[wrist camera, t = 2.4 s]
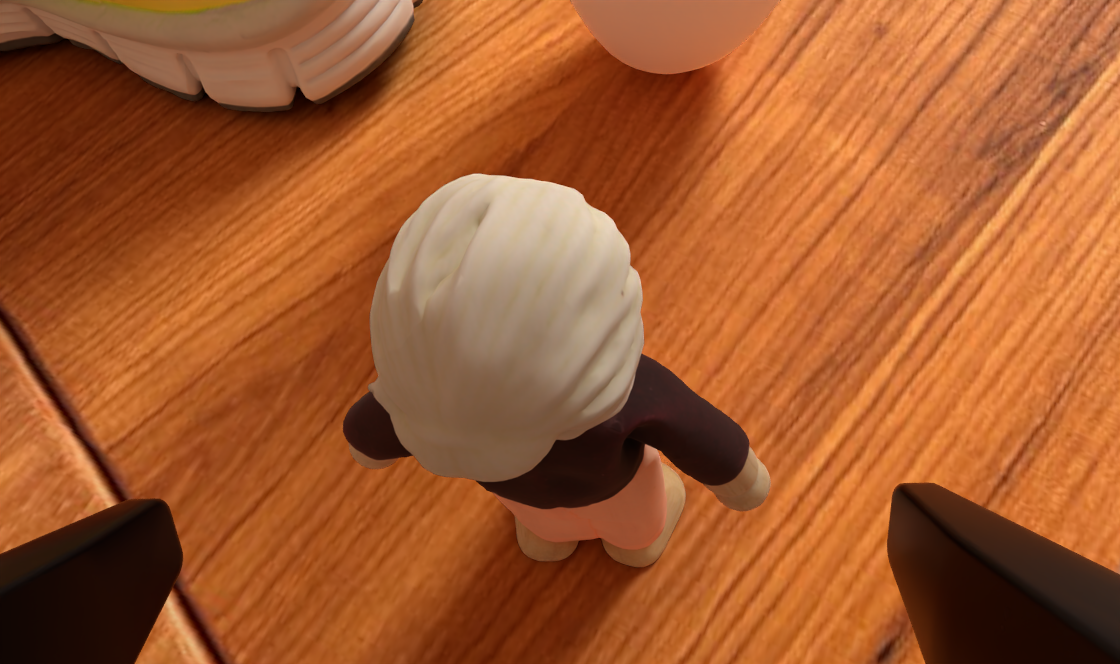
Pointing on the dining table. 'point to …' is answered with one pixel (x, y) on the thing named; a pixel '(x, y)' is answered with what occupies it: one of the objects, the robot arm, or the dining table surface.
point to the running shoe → (224, 43)
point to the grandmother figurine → (538, 374)
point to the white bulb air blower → (672, 30)
